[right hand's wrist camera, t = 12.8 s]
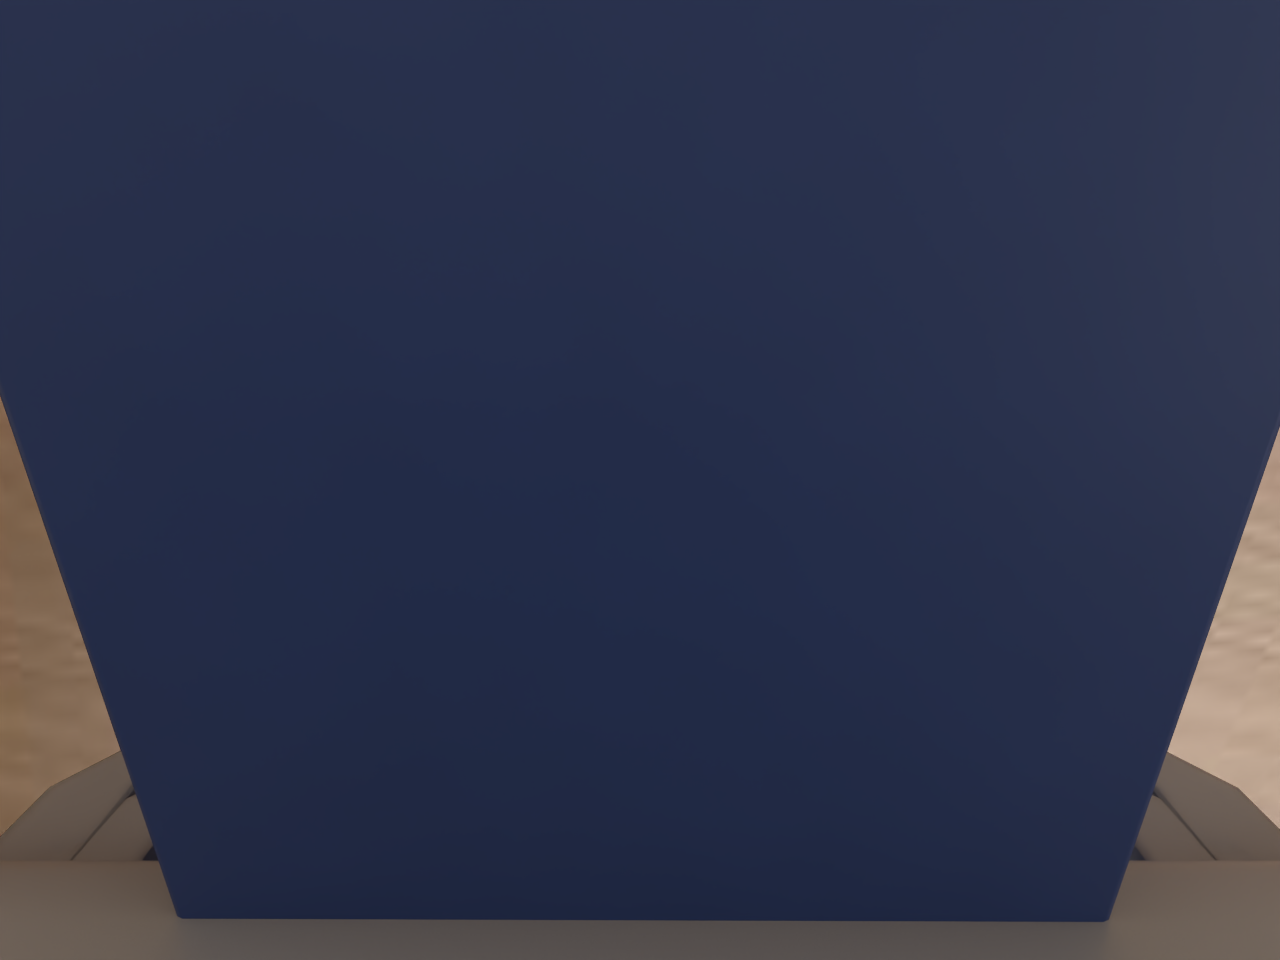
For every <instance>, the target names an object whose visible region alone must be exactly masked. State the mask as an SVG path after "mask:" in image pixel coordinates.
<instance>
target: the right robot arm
mask: <svg viewBox="0 0 1280 960" xmlns="http://www.w3.org/2000/svg"><path fill="white" fill-rule="evenodd" d="M0 960H1280V829H1279V828H1278V827H1277V826H1276V825H1275V824H1274V823H1273V822H1272V821H1271V820H1270V819H1269V818H1268V817H1267V816H1266V815H1265V814H1264V813H1263V812H1262V811H1261V810H1260V809H1259V808H1258V807H1257V806H1256V805H1255V804H1254V803H1253V802H1252V801H1251V800H1250V799H1249V798H1248V797H1247V796H1246V795H1245V794H1244V793H1243V792H1242V791H1241V790H1240V789H1239V788H1237V787H1235V786H1233V785H1231V784H1229V783H1227V782H1225V781H1223V780H1221V779H1219V778H1217V777H1215V776H1213V775H1211V774H1210V773H1208V772H1206V771H1204V770H1202V769H1200V768H1198V767H1196V766H1194V765H1192V764H1190V763H1188V762H1186V761H1184V760H1182V759H1180V758H1178V757H1176V756H1174V755H1172V754H1170V753H1168V752H1167V753H1166V756H1165V759H1164V762H1163V765H1162V768H1161V771H1160V773H1159V776H1158V779H1157V782H1156V785H1155V788H1154V791H1153V794H1152V797H1151V799H1150V802H1149V805H1148V808H1147V811H1146V814H1145V817H1144V820H1143V822H1142V825H1141V828H1140V831H1139V834H1138V837H1137V840H1136V843H1135V846H1134V848H1133V851H1132V854H1131V857H1130V860H1129V863H1128V866H1127V869H1126V872H1125V874H1124V877H1123V880H1122V883H1121V886H1120V889H1119V892H1118V895H1117V898H1116V900H1115V903H1114V906H1113V909H1112V912H1111V915H1110V918H1109V920H1107V921H1104V922H969V921H687V920H405V919H182V918H180V917H178V916H177V914H176V911H175V908H174V905H173V902H172V900H171V897H170V894H169V891H168V888H167V885H166V882H165V879H164V876H163V873H162V870H161V867H160V864H159V861H158V858H157V855H156V852H155V849H154V847H153V844H152V841H151V838H150V835H149V832H148V829H147V826H146V823H145V820H144V817H143V814H142V811H141V808H140V805H139V802H138V799H137V797H136V794H135V791H134V788H133V785H132V782H131V779H130V776H129V773H128V770H127V767H126V764H125V761H124V758H123V755H122V752H121V751H119V752H117V753H115V754H113V755H111V756H110V757H108V758H106V759H104V760H102V761H100V762H98V763H96V764H94V765H92V766H90V767H88V768H86V769H84V770H82V771H80V772H78V773H76V774H74V775H72V776H70V777H68V778H67V779H65V780H63V781H61V782H59V783H57V784H55V785H53V786H51V787H50V788H49V789H47V790H46V791H45V792H44V793H43V794H42V795H41V796H40V797H39V798H38V799H37V800H36V801H35V802H34V803H33V804H32V805H31V806H30V807H29V808H28V809H27V810H26V811H25V812H24V813H23V814H22V815H21V816H20V817H19V818H18V819H17V820H16V821H15V822H14V823H13V824H12V825H11V826H10V827H9V828H8V829H7V830H6V831H5V832H4V833H3V834H2V835H1V836H0Z"/></svg>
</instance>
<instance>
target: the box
mask: <svg viewBox="0 0 1280 960" xmlns="http://www.w3.org/2000/svg"><path fill="white" fill-rule="evenodd" d="M0 396H1V399H2V402H3V405H4V408H5V411H6V414H7V417H8V420H9V423H10V426H11V428H12V431H13V434H14V437H15V440H16V443H17V446H18V449H19V452H20V455H21V458H22V461H23V464H24V467H25V470H26V473H27V476H28V479H29V481H30V484H31V487H32V490H33V493H34V496H35V499H36V502H37V505H38V508H39V511H40V514H41V517H42V520H43V523H44V526H45V529H46V532H47V534H48V537H49V540H50V543H51V546H52V549H53V552H54V555H55V558H56V561H57V564H58V567H59V570H60V573H61V576H62V579H63V582H64V585H65V587H66V590H67V593H68V596H69V599H70V602H71V605H72V608H73V611H74V614H75V617H76V620H77V623H78V626H79V629H80V632H81V635H82V638H83V640H84V643H85V646H86V649H87V652H88V655H89V658H90V661H91V664H92V667H93V670H94V673H95V676H96V679H97V682H98V685H99V688H100V691H101V693H102V696H103V699H104V702H105V705H106V708H107V711H108V714H109V717H110V720H111V723H112V726H113V729H114V732H115V735H116V738H117V741H118V744H119V746H120V749H121V752H122V755H123V758H124V761H125V764H126V767H127V770H128V773H129V776H130V779H131V782H132V785H133V788H134V791H135V794H136V797H137V799H138V802H139V805H140V808H141V811H142V814H143V817H144V820H145V823H146V826H147V829H148V832H149V835H150V838H151V841H152V844H153V847H154V849H155V852H156V855H157V858H158V861H159V864H160V867H161V870H162V873H163V876H164V879H165V882H166V885H167V888H168V891H169V894H170V897H171V900H172V902H173V905H174V908H175V911H176V914H177V916H178V917H180V918H182V919H405V920H687V921H969V922H1104V921H1107V920H1109V918H1110V915H1111V912H1112V909H1113V906H1114V903H1115V900H1116V898H1117V895H1118V892H1119V889H1120V886H1121V883H1122V880H1123V877H1124V874H1125V872H1126V869H1127V866H1128V863H1129V860H1130V857H1131V854H1132V851H1133V848H1134V846H1135V843H1136V840H1137V837H1138V834H1139V831H1140V828H1141V825H1142V822H1143V820H1144V817H1145V814H1146V811H1147V808H1148V805H1149V802H1150V799H1151V797H1152V794H1153V791H1154V788H1155V785H1156V782H1157V779H1158V776H1159V773H1160V771H1161V768H1162V765H1163V762H1164V759H1165V756H1166V753H1167V750H1168V747H1169V745H1170V742H1171V739H1172V736H1173V733H1174V730H1175V727H1176V724H1177V721H1178V719H1179V716H1180V713H1181V710H1182V707H1183V704H1184V701H1185V698H1186V696H1187V693H1188V690H1189V687H1190V684H1191V681H1192V678H1193V675H1194V672H1195V670H1196V667H1197V664H1198V661H1199V658H1200V655H1201V652H1202V649H1203V646H1204V644H1205V641H1206V638H1207V635H1208V632H1209V629H1210V626H1211V623H1212V621H1213V618H1214V615H1215V612H1216V609H1217V606H1218V603H1219V600H1220V597H1221V595H1222V592H1223V589H1224V586H1225V583H1226V580H1227V577H1228V574H1229V571H1230V569H1231V566H1232V563H1233V560H1234V557H1235V554H1236V551H1237V548H1238V545H1239V543H1240V540H1241V537H1242V534H1243V531H1244V528H1245V525H1246V522H1247V520H1248V517H1249V514H1250V511H1251V508H1252V505H1253V502H1254V499H1255V496H1256V494H1257V491H1258V488H1259V485H1260V482H1261V479H1262V476H1263V473H1264V470H1265V468H1266V465H1267V462H1268V459H1269V456H1270V453H1271V450H1272V447H1273V444H1274V442H1275V439H1276V436H1277V433H1278V430H1279V427H1280V0H0Z"/></svg>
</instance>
